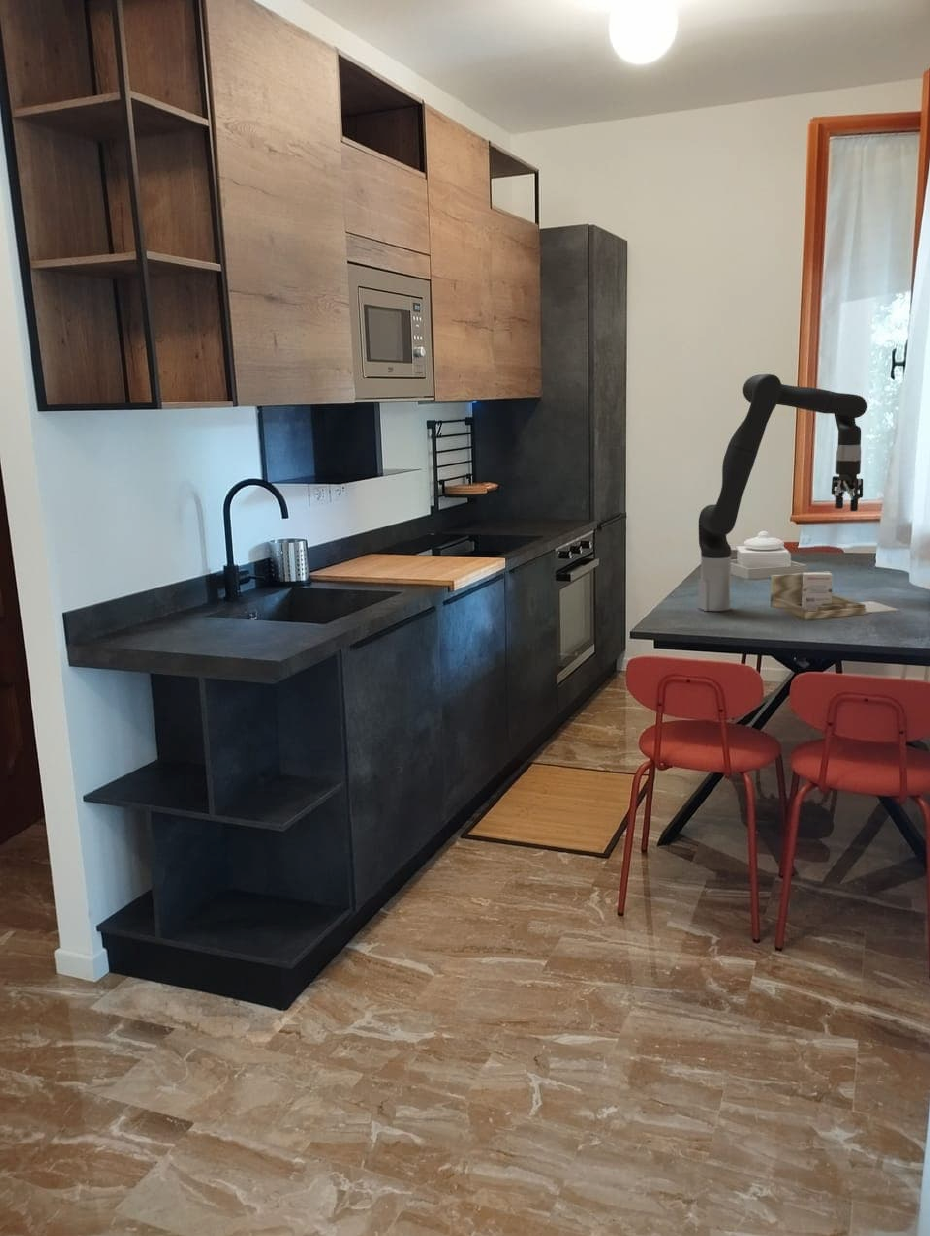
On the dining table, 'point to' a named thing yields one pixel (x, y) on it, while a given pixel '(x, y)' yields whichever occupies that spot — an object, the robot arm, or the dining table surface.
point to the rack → (791, 592)
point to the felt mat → (877, 607)
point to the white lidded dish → (763, 552)
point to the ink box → (817, 590)
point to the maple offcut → (852, 606)
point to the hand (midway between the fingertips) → (846, 509)
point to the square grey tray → (766, 570)
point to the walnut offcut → (830, 607)
